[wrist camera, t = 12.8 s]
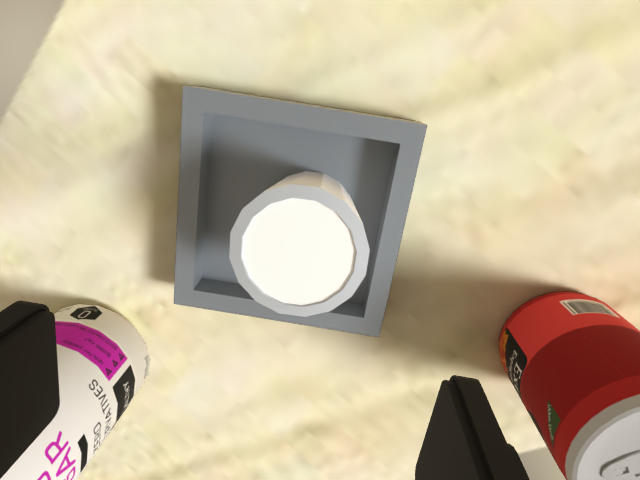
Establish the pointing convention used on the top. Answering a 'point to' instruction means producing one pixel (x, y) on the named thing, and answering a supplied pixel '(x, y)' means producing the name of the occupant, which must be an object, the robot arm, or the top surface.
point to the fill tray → (270, 168)
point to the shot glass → (300, 246)
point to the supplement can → (85, 391)
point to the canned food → (578, 382)
